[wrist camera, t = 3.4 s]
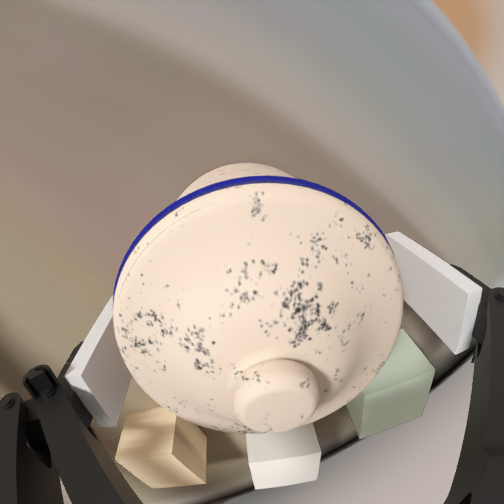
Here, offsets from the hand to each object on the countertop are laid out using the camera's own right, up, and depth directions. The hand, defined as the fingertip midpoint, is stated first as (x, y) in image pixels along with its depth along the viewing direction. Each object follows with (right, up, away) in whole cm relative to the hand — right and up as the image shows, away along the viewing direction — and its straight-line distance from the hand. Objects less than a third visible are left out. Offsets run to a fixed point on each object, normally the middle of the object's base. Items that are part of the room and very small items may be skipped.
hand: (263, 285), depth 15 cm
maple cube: (-8, -13, +7) cm, 17 cm away
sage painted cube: (+8, -7, +6) cm, 13 cm away
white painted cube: (+2, -13, +8) cm, 15 cm away
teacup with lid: (0, +1, +3) cm, 3 cm away
